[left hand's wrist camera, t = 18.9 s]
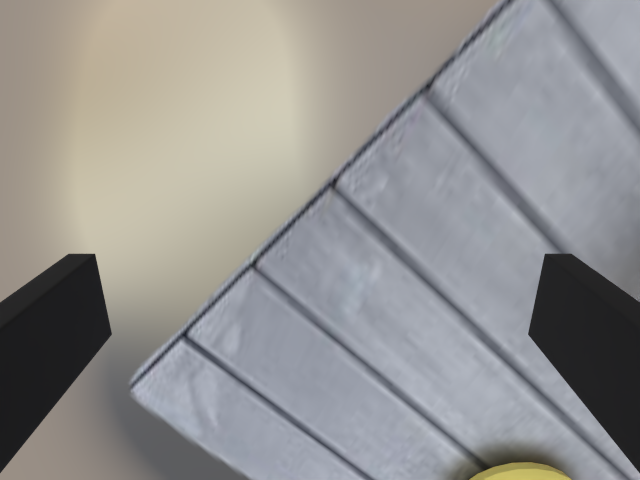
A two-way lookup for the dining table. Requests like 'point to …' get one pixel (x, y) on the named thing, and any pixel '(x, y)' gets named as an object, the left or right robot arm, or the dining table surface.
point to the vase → (521, 472)
